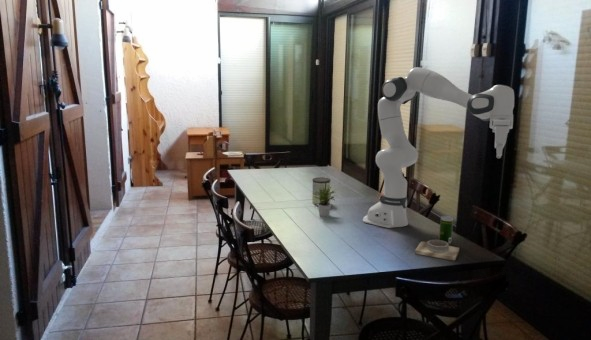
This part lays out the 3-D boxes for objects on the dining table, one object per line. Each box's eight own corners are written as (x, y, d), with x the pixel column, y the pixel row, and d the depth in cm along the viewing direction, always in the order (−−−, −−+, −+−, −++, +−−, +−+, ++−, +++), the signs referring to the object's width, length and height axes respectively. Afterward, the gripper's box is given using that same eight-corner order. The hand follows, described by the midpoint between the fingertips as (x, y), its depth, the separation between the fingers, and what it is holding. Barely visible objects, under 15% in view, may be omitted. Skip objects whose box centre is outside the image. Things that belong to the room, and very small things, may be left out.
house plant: (336, 221, 238) (337, 189, 235) (309, 219, 241) (310, 188, 237) (339, 213, 252) (340, 183, 248) (314, 211, 254) (314, 182, 251)
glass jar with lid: (312, 200, 276) (313, 177, 273) (330, 201, 275) (330, 177, 272) (311, 205, 266) (311, 181, 263) (329, 205, 265) (330, 181, 262)
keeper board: (415, 253, 196) (415, 244, 196) (421, 244, 207) (421, 235, 206) (454, 260, 189) (455, 251, 188) (459, 250, 200) (459, 242, 199)
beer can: (453, 243, 209) (455, 217, 207) (447, 246, 205) (450, 219, 203) (442, 240, 213) (444, 214, 210) (436, 243, 209) (438, 217, 206)
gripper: (492, 127, 205) (490, 158, 204) (493, 120, 186) (491, 154, 185) (508, 127, 202) (506, 159, 202) (510, 120, 183) (508, 155, 183)
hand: (499, 157), depth 194 cm, fingers open, 8 cm apart
